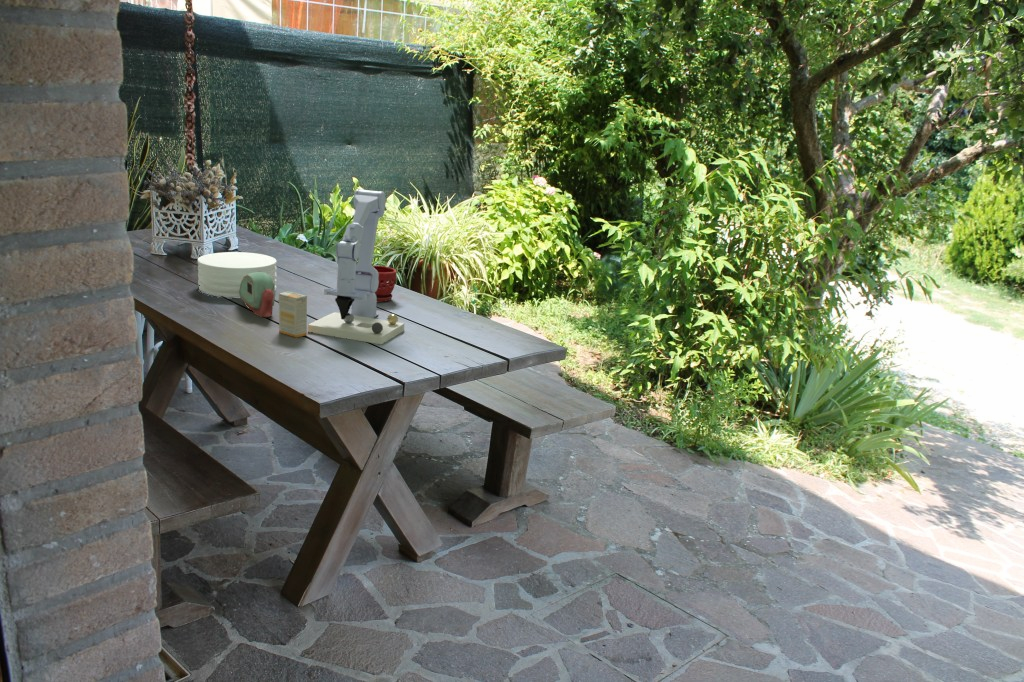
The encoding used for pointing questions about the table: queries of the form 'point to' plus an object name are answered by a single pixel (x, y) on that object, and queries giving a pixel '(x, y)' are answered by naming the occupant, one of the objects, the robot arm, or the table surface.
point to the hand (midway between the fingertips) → (344, 318)
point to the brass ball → (392, 319)
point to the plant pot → (385, 283)
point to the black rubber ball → (377, 327)
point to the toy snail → (258, 293)
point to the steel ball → (349, 318)
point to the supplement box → (293, 314)
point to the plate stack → (231, 271)
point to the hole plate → (355, 328)
